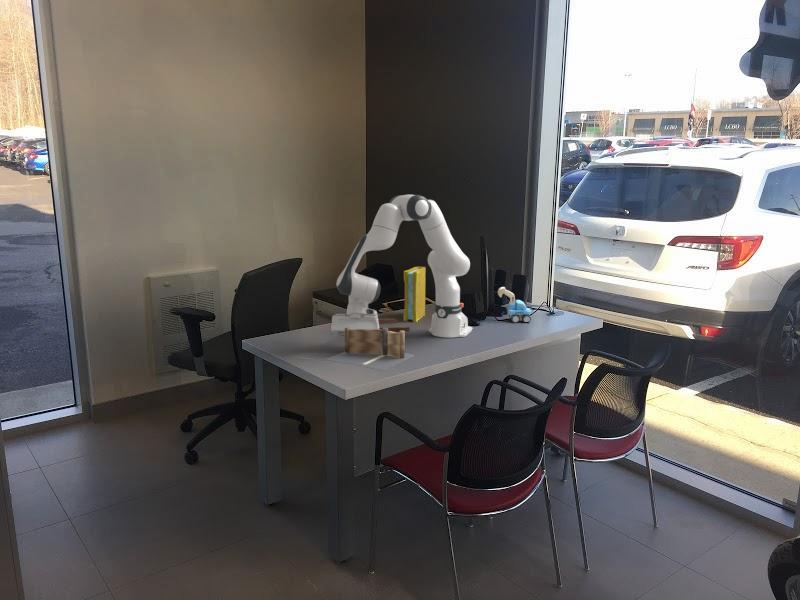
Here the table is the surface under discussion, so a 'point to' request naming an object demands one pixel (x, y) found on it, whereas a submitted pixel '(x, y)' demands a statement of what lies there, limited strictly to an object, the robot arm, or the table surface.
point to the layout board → (369, 360)
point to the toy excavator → (516, 307)
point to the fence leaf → (363, 341)
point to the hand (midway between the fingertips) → (353, 343)
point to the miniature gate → (392, 329)
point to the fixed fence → (393, 343)
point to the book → (414, 293)
